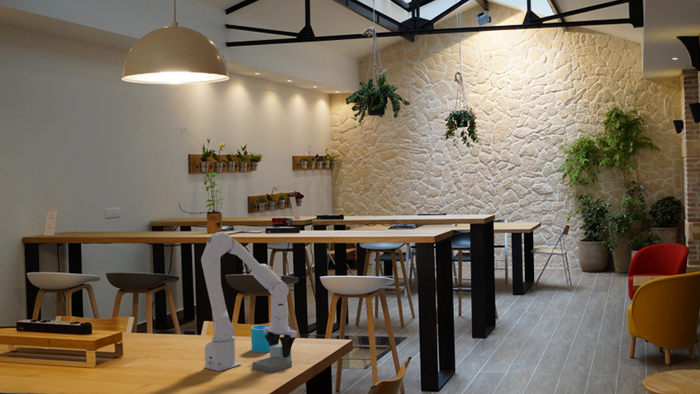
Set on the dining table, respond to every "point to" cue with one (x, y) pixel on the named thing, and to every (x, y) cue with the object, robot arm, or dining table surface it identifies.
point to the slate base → (272, 364)
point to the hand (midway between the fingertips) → (280, 356)
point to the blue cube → (278, 351)
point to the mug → (259, 339)
